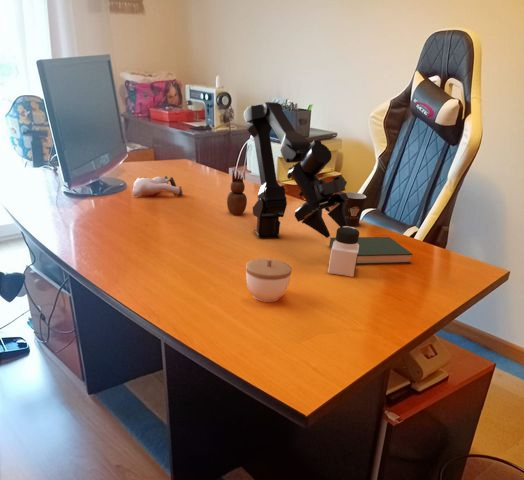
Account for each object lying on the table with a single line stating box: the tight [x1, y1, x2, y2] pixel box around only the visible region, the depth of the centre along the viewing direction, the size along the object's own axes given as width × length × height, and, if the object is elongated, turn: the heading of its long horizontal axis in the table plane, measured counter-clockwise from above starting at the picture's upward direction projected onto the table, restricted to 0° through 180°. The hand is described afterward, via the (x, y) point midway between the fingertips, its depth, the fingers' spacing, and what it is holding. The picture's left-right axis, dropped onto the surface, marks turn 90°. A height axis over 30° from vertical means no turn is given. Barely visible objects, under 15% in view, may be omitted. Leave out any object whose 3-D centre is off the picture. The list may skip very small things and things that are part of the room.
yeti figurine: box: [132, 175, 183, 197], centre depth 197 cm, size 20×7×20 cm
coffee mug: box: [343, 191, 367, 228], centre depth 181 cm, size 12×9×10 cm
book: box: [328, 236, 413, 266], centre depth 156 cm, size 20×15×3 cm
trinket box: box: [245, 258, 293, 303], centre depth 123 cm, size 11×11×9 cm
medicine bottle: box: [327, 226, 360, 278], centre depth 140 cm, size 7×7×12 cm
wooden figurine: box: [226, 169, 248, 216], centre depth 179 cm, size 7×6×15 cm
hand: (337, 233), depth 140 cm, fingers open, 9 cm apart
